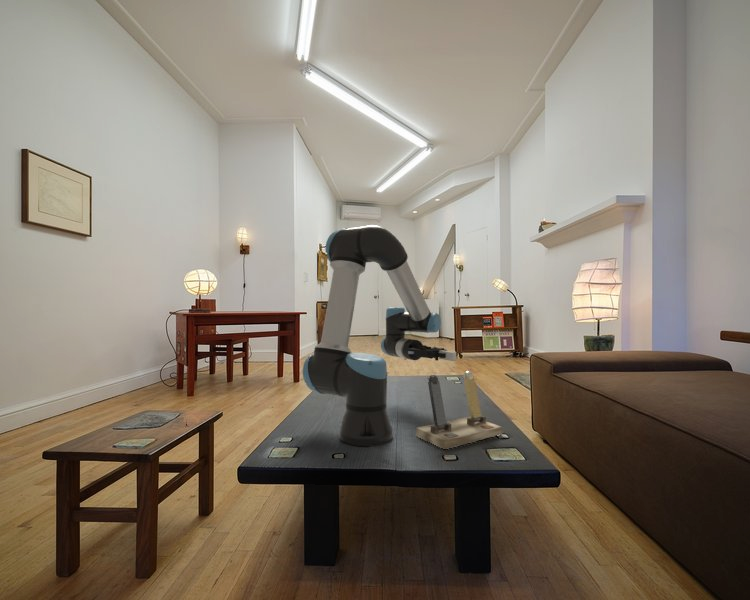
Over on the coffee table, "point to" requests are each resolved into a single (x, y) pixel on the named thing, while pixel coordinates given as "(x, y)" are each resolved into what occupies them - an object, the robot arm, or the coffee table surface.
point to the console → (458, 432)
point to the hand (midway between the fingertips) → (454, 356)
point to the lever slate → (437, 402)
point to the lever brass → (472, 396)
